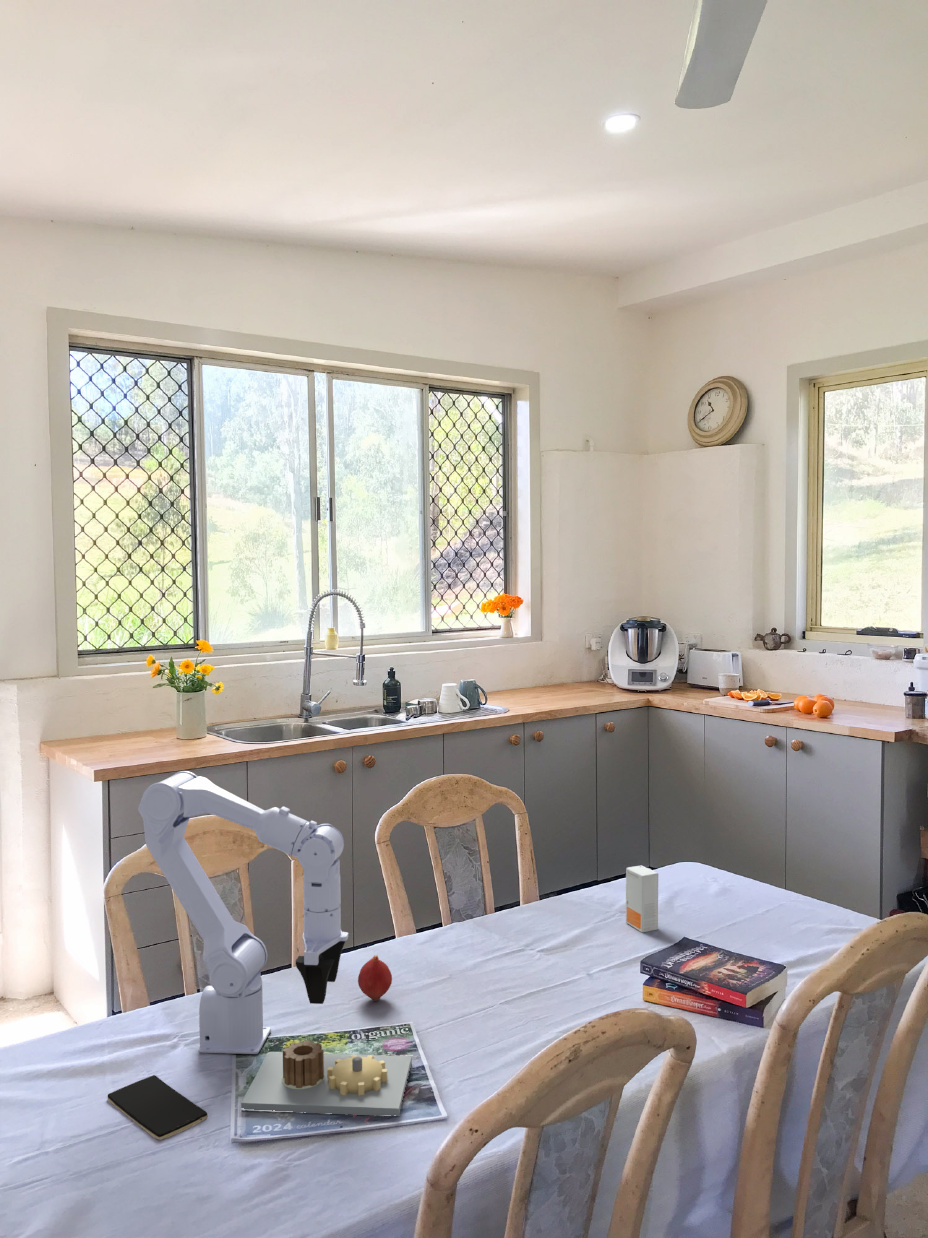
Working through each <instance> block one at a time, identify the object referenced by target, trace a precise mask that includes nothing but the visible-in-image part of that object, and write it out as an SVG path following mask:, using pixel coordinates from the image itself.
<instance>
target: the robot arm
mask: <svg viewBox="0 0 928 1238" xmlns="http://www.w3.org/2000/svg"><path fill="white" fill-rule="evenodd" d="M141 797H142V798H141V800H140V803H139V805H138V808H137V811H138V813H139V814H140V816H141V818H142V820H143V821H142V822H143V829H144V830H143V832H144V840H145V845H146V847H147V850H148V851H149V853H150V855H151V856H152V858H153V860H154V861H155V863H156V865H157V866H158V868H159V870H160V871H161V873H162V875H163V876H164V878H165V879H166V882H167V883H168V884H169V886H170V887H171V889H172V891H173V893H174V895H175V897H177V899H178V901H179V902H180V904H181V906H182V907H183V909H184V911H185V913H186V914H187V916H188V917H189V919H190V921H191V923H192V924H193V926H194V927H195V928H196V931H197V933H198V934H199V935H200V938H201V939H202V941H203V951H202V961H203V963H204V965H205V966H206V968H207V972H208V980H209V983H210V985H206V986H205V987H204V988H203V991H202V993H201V996H200V1002H199V1007H198V1008H199V1009H198V1010H199V1011H198V1015H199V1016H198V1019H199V1020H198V1022H199V1023H198V1024H199V1026H198V1027H199V1047H198V1049H197V1050H198V1053H206V1054H208V1053H212V1054H235V1055H237V1054H241V1055H257V1054H259V1052H260V1051H261V1049H262V1047H263V1045H264V1044H265V1042H266V1040H267V1038H268V1036H269V1035H270V1033H271V1031H272V1029H271V1027H270V1026H264V1015H263V1014H264V1012H263V1011H264V1010H263V1009H264V1008H263V1007H264V1005H263V979H262V974H261V970H262V969H263V968H264V967H265V965H266V964H267V960H268V951H267V950H268V949H267V947H266V945H265V943H264V942H263V941H262V940H261V939H260V938H259V937H257V936H255V935H254V934H253V933H252V932H251V931H250V929H249V928H248V926H247V925H245V924H243V923H242V922H238V921H237V920H235V919H234V918H233V915H231V913H230V911H229V910H228V908H227V906H226V904H225V903H224V901H223V899H222V898H221V896H220V894H219V893H218V891H217V890H216V888H215V886H214V884H213V883H212V881H211V880H210V878H209V877H208V875H207V874H206V872H205V869H204V868H203V867H202V865H201V863H200V862H199V860H198V858H197V857H196V855H195V854H194V851H193V850H192V849H191V846H190V845H189V844H188V842H187V840H186V839H185V834H186V830H187V827H188V824H189V821H190V817H194V816H198V815H202V814H211V815H213V816H215V817H219V818H221V819H224V820H227V821H229V822H232V823H234V824H237V825H239V826H242V827H244V828H247V829H249V830H251V831H252V830H253V831H254V832H255V835H256V838H257V840H258V841H259V842H260V843H262V844H264V845H267V846H269V847H271V848H274V849H276V850H277V851H280V852H282V853H284V854H287V855H289V856H292V857H293V858H297V861H298V862H299V864H300V865H301V867H302V868H303V870H302V871H303V872H302V873H303V878H302V889H303V890H302V891H303V893H302V894H303V895H302V896H303V901H302V902H303V903H302V904H303V907H302V908H303V933H302V943H303V946H304V950H303V955H298V956H297V957H296V959H295V967H296V969H297V970H298V972H299V974H300V976H301V977H302V980H303V984H304V986H305V990H306V993H307V994H306V995H307V998H308V1002H309V1003H310V1004H315V1005H317V1004H318V1005H320V1004H321V1005H323V1004H324V1002H325V999H326V995H327V988H328V987H327V986H328V983H335V981H336V979H337V976H338V972H339V966H340V961H341V955H342V951H343V950H344V949H343V948H344V946H345V943H346V942H347V940H348V938H349V932H347V931H342V924H341V923H342V922H341V921H342V920H341V919H342V918H341V916H342V915H341V913H342V911H341V909H342V908H341V906H342V903H341V901H342V899H341V892H342V891H341V871H340V869H341V866H340V864H341V863H340V859H339V857H340V856H341V855H342V853H343V851H344V848H345V840H344V839H345V838H344V837H343V834H342V833H341V831H340V830H339V829H338V828H336V827H334V826H333V824H330V823H321V824H319V825H318V822H317V821H314V820H310V821H308V820H306V819H304V818H301V817H299V816H298V815H295V814H293V813H290V812H291V809H290V808H288V807H286V806H282V807H281V808H279V807H276V806H274V807H271V808H269V809H266V810H264V809H263V808H261V807H259V806H257V805H255V804H253V803H251V802H249V801H248V800H245V799H243V798H241V797H239V796H237V794H234V793H232V792H229V791H228V790H225V789H224V788H222V787H220V786H218V785H216V784H215V783H213V782H212V781H211V780H209V779H208V778H207V777H204V776H201V775H200V776H198V775H197V774H196V773H194V772H191V771H189V770H182V771H177V772H176V773H174V774H172V775H171V776H170V777H169V776H168V778H166V779H164V780H161V781H159V782H155V783H153V784H151V785H149V786H148V787H147V788H146V789H145V790H144V792H143V794H142V796H141Z"/></svg>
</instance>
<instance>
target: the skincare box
mask: <svg viewBox="0 0 928 1238" xmlns="http://www.w3.org/2000/svg"><path fill="white" fill-rule="evenodd" d="M625 870H626V871H625V924H627V925H629V926H631V927H632V928H635V929H636V930H637V931H639V932H641V933H646V932H652V931H653V932H654V931H657V930H659V873H658V872H656V871H654V870H652V869H651V868H649V867H646V866H644V865H642V864H641V865H635V866H628V867H626V869H625Z"/></svg>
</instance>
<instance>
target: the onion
mask: <svg viewBox="0 0 928 1238" xmlns="http://www.w3.org/2000/svg"><path fill="white" fill-rule="evenodd" d="M392 983H393V976H392V972H391V970H390V968H389V966H388V964H387V963H385V962H384V961H382V960H381V959H379V956H378V954H376V955H373V957H371V958H370V959H369V960H368V961H366V963H364V964H363V966H362V967H361V969H360V970H359V974H358V977H357V984H358V987H359V989H360V990H361V992H362V993H363V994H364V995H365V996H366V997H367V998H369V999H371V1000H372V1001H375V1002H377V1001H378V1000H380V999H381V998H382V997H384V995H385V994H386V993H388V991H389V989H390V987H391V985H392Z"/></svg>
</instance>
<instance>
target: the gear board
mask: <svg viewBox="0 0 928 1238" xmlns="http://www.w3.org/2000/svg"><path fill="white" fill-rule="evenodd" d="M412 1063H413V1058H412V1056H408V1055H407V1056H406V1055H381V1054H379V1055H378V1054H377V1055H376V1054H349V1053H348V1054H347V1053H346V1054H345V1053H324V1077H323V1079H320V1080H319V1081H318V1082H317V1084H316V1085H314V1086H311V1085H309V1086H303V1087H302V1088H296V1085H295V1086H293V1085H288V1086H287V1085H286V1084H285V1078H283V1051H282V1052H281V1051H268V1052H267V1054H266V1056H265V1058H264V1060H263V1061H262V1064H261V1065H260V1067H259V1069H258V1070H257V1073H256V1074H255V1075H254V1076H255V1077H254V1078H253V1080H252V1082H251V1084H250V1086H249V1088H248V1090H247V1092H246V1093H245V1095H244V1096H243V1099H242V1100H241V1102H240V1109H241V1108H244V1109H254V1110H272V1111H273V1110H275V1111H293V1112H303V1113H304V1112H306V1113H332V1114H345V1115H344V1116H349V1115H348V1114H353V1115H352V1116H357V1115H391V1116H394V1115H396V1116H399V1117H400V1115H399V1113H400V1114H401V1111H400V1109H401V1110H402V1106H401V1104H402V1105H403V1102H402V1100H403V1101H404V1098H403V1096H404V1097H405V1094H404V1092H405V1093H406V1090H405V1087H406V1088H407V1086H406V1084H407V1085H408V1081H407V1079H408V1080H409V1077H410V1073H409V1071H410V1072H411V1069H410V1068H412V1065H411V1064H412ZM408 1076H409V1077H408ZM303 1113H302V1114H303ZM355 1114H357V1115H355Z"/></svg>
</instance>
